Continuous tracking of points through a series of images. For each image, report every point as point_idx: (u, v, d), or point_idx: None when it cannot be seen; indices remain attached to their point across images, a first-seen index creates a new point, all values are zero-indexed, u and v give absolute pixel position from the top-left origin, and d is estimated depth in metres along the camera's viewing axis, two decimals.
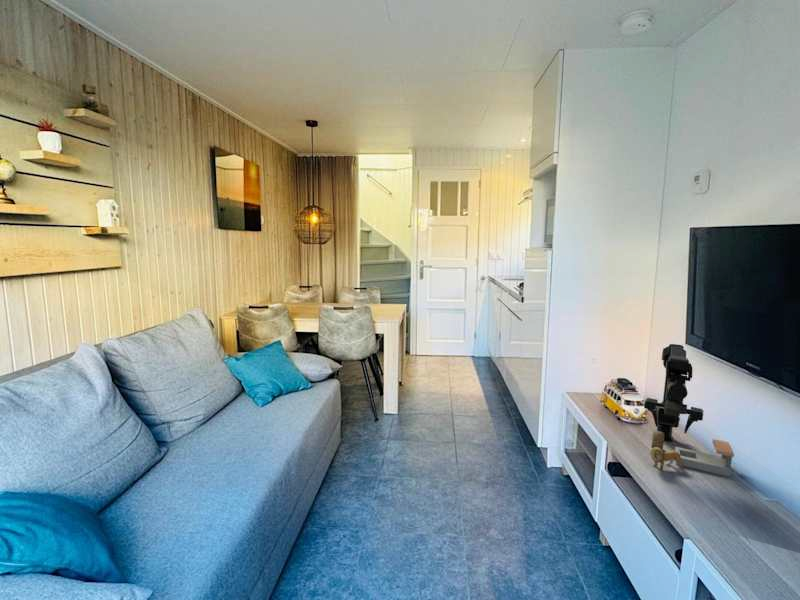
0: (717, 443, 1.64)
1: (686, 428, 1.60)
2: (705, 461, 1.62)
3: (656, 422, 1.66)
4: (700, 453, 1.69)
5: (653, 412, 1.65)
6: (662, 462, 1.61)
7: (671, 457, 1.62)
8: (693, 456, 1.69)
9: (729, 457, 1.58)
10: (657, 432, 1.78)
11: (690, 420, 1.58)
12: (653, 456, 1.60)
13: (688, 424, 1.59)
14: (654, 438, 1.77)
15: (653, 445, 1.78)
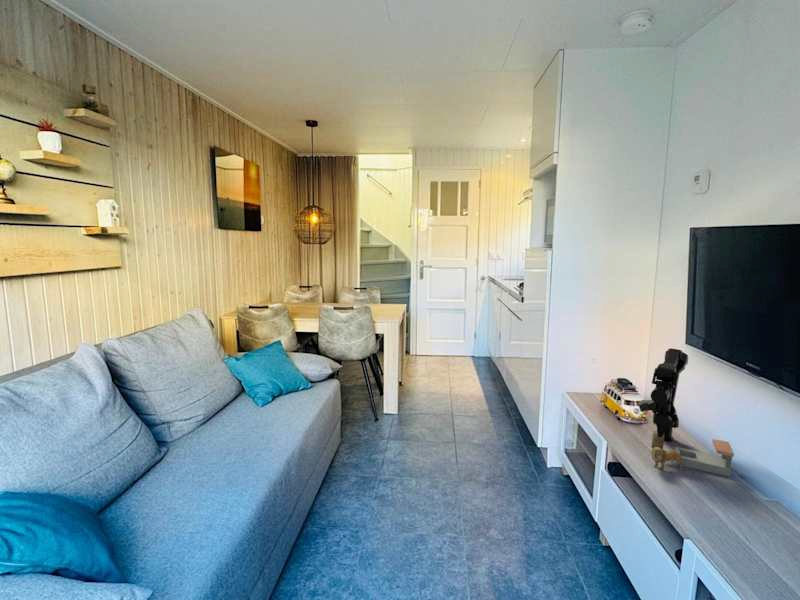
0: (717, 443, 1.64)
1: None
2: (705, 461, 1.62)
3: None
4: (700, 453, 1.69)
5: (653, 412, 1.83)
6: (663, 462, 1.61)
7: (672, 457, 1.61)
8: (693, 456, 1.69)
9: (729, 457, 1.58)
10: (657, 432, 1.78)
11: None
12: (654, 456, 1.60)
13: None
14: (654, 438, 1.77)
15: (653, 445, 1.78)
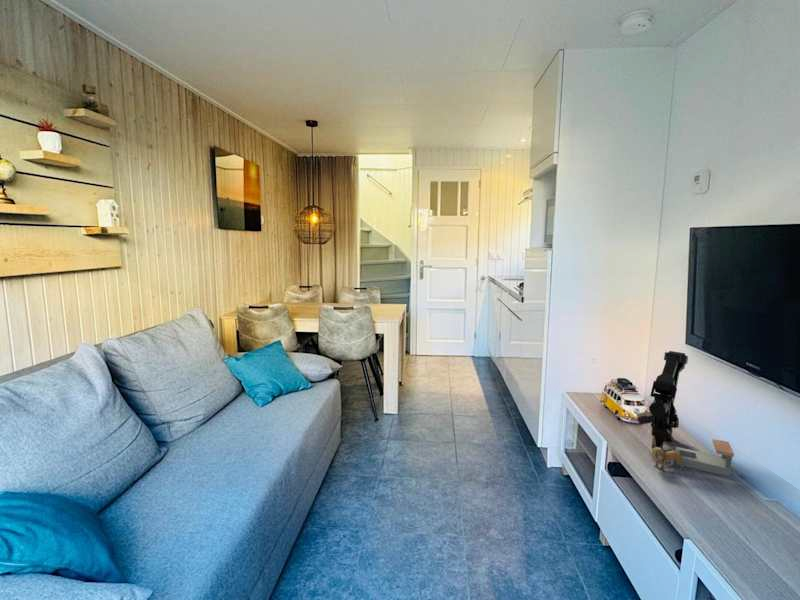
0: (717, 443, 1.64)
1: None
2: (705, 461, 1.62)
3: None
4: (700, 453, 1.69)
5: None
6: (663, 462, 1.60)
7: (672, 457, 1.61)
8: (693, 456, 1.69)
9: (729, 457, 1.58)
10: None
11: None
12: (654, 456, 1.60)
13: (655, 437, 1.76)
14: (654, 438, 1.77)
15: (653, 445, 1.78)
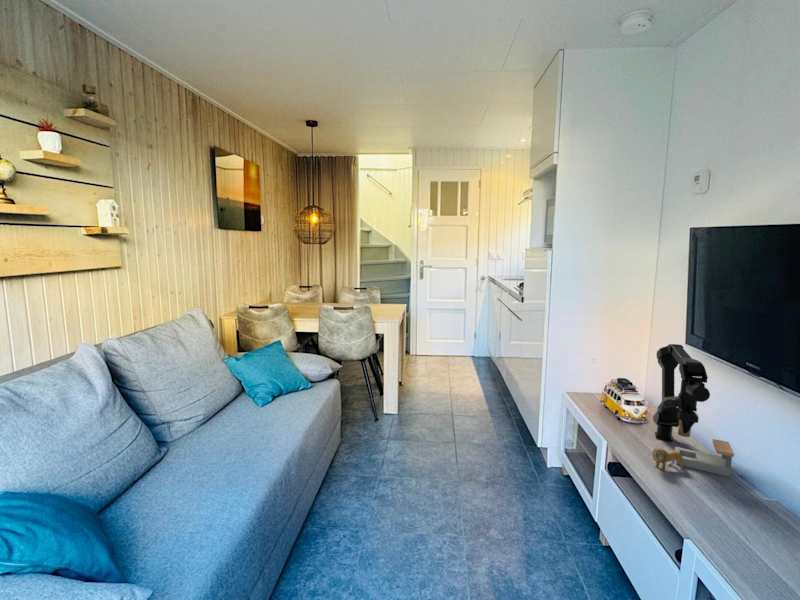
0: (717, 443, 1.64)
1: None
2: (705, 461, 1.62)
3: None
4: (700, 453, 1.69)
5: (678, 411, 1.72)
6: (664, 462, 1.60)
7: (673, 457, 1.61)
8: (693, 456, 1.69)
9: (729, 457, 1.58)
10: None
11: None
12: (655, 456, 1.60)
13: (682, 422, 1.66)
14: (681, 423, 1.67)
15: (679, 431, 1.68)
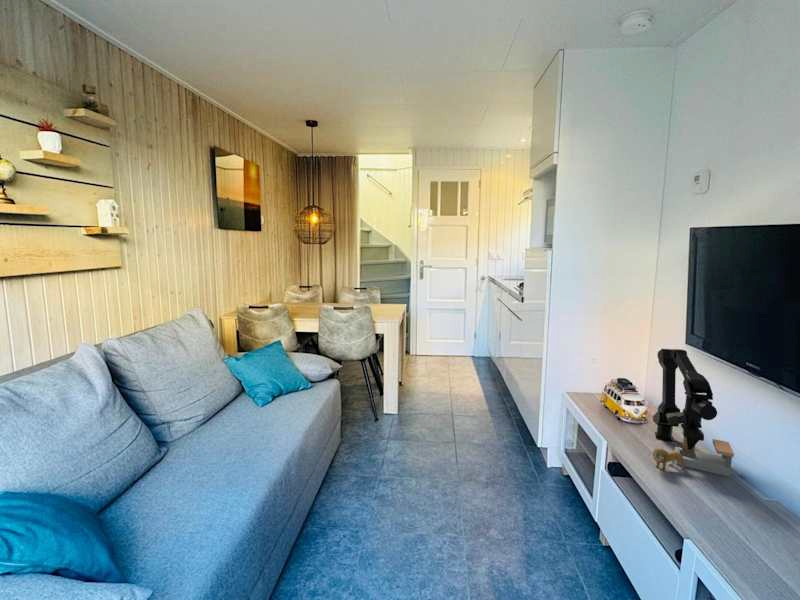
0: (717, 443, 1.64)
1: (687, 443, 1.66)
2: (705, 461, 1.62)
3: None
4: (700, 453, 1.69)
5: (682, 427, 1.71)
6: (664, 462, 1.60)
7: (673, 457, 1.61)
8: (693, 456, 1.69)
9: (729, 457, 1.58)
10: None
11: None
12: (655, 456, 1.60)
13: None
14: (685, 440, 1.67)
15: (684, 447, 1.67)
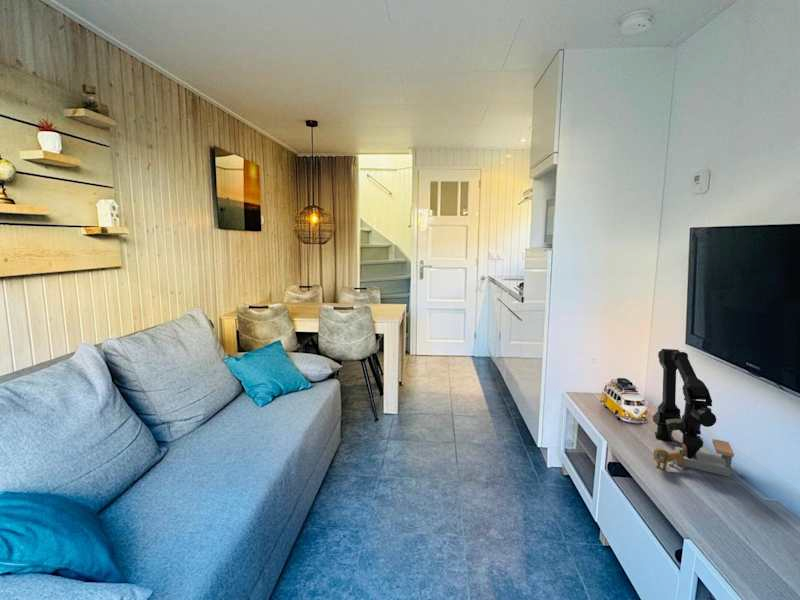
0: (717, 443, 1.64)
1: (687, 452, 1.64)
2: (705, 461, 1.62)
3: None
4: (700, 453, 1.69)
5: (681, 431, 1.73)
6: (665, 463, 1.60)
7: (674, 458, 1.61)
8: None
9: (729, 457, 1.58)
10: None
11: None
12: (656, 457, 1.60)
13: None
14: (684, 450, 1.67)
15: None
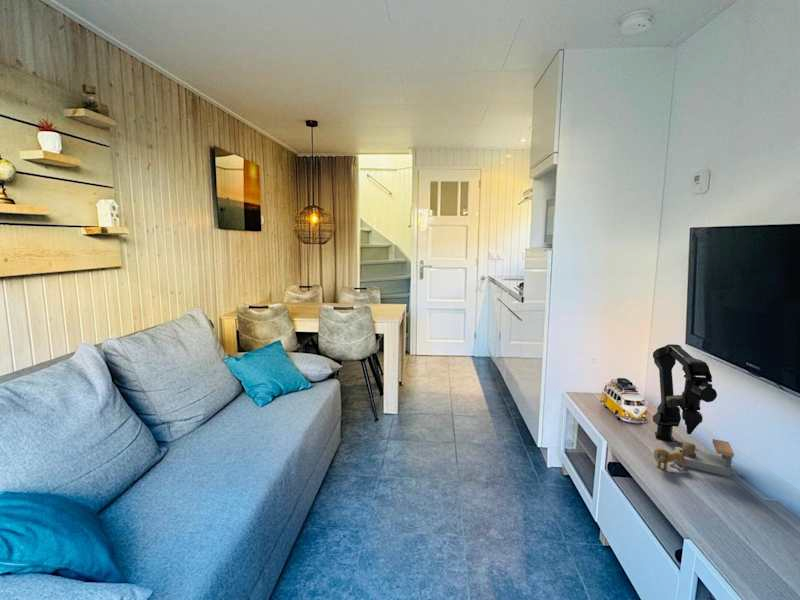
0: (717, 443, 1.64)
1: None
2: (705, 461, 1.62)
3: None
4: (700, 453, 1.69)
5: (681, 408, 1.76)
6: (665, 463, 1.60)
7: (675, 458, 1.61)
8: None
9: (729, 457, 1.58)
10: (687, 444, 1.68)
11: None
12: (656, 457, 1.60)
13: (686, 423, 1.66)
14: (684, 450, 1.67)
15: None
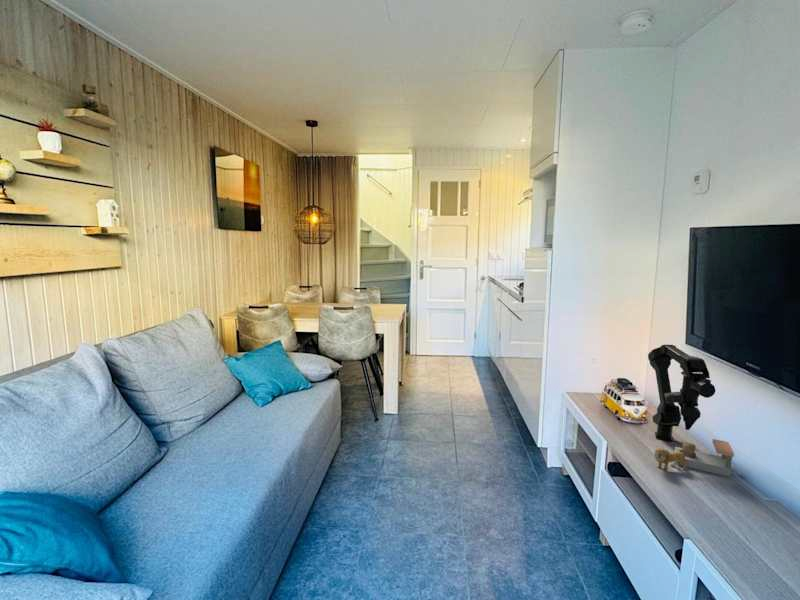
0: (717, 443, 1.64)
1: None
2: (705, 461, 1.62)
3: None
4: (700, 453, 1.69)
5: (679, 404, 1.79)
6: (666, 463, 1.60)
7: (675, 458, 1.61)
8: None
9: (729, 457, 1.58)
10: (687, 444, 1.68)
11: None
12: (657, 457, 1.59)
13: (684, 419, 1.69)
14: (684, 450, 1.67)
15: None
